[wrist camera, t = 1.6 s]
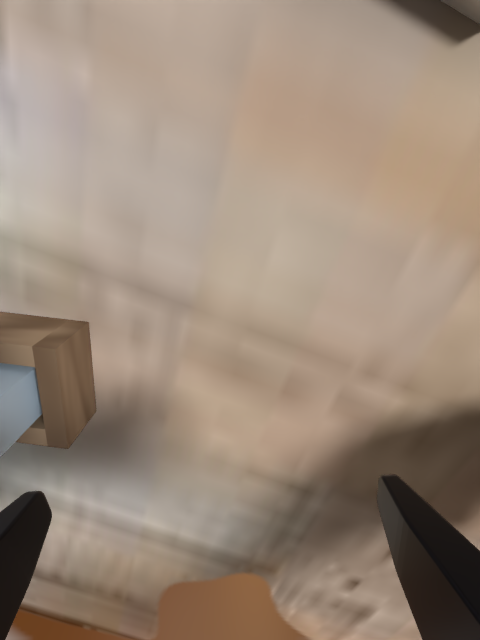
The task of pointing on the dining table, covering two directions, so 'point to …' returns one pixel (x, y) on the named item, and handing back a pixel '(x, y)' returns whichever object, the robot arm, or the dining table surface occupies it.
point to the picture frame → (466, 8)
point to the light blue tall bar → (17, 402)
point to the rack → (53, 373)
